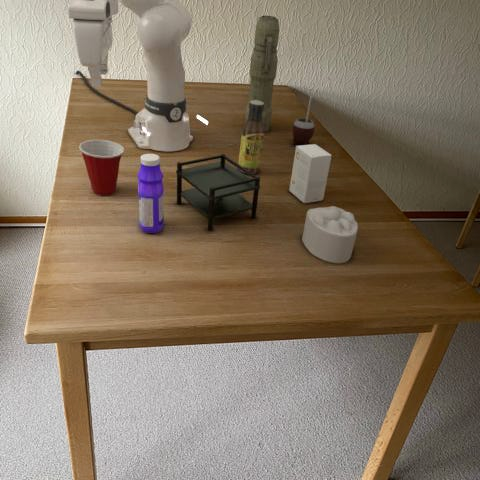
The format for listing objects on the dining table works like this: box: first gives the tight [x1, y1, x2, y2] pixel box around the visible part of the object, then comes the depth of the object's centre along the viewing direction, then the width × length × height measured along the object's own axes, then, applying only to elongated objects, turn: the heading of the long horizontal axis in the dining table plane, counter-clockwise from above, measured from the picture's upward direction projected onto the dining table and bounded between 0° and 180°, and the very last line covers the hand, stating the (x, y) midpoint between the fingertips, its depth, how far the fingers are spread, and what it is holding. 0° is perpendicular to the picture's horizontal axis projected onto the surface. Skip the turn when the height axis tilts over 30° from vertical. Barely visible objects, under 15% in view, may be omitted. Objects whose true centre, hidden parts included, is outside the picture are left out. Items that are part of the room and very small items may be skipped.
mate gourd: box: [292, 93, 315, 147], centre depth 167 cm, size 8×8×15 cm
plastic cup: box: [78, 139, 125, 196], centre depth 130 cm, size 11×11×12 cm
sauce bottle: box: [237, 100, 265, 175], centre depth 145 cm, size 6×6×20 cm
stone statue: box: [244, 15, 280, 133], centre depth 169 cm, size 9×12×35 cm
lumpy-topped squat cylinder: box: [301, 205, 359, 264], centre depth 117 cm, size 10×13×9 cm
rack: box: [175, 153, 261, 232], centre depth 126 cm, size 16×14×11 cm
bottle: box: [137, 153, 165, 234], centre depth 115 cm, size 7×6×17 cm
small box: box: [288, 143, 333, 204], centre depth 137 cm, size 8×6×13 cm
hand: (100, 79), depth 102 cm, fingers open, 8 cm apart
